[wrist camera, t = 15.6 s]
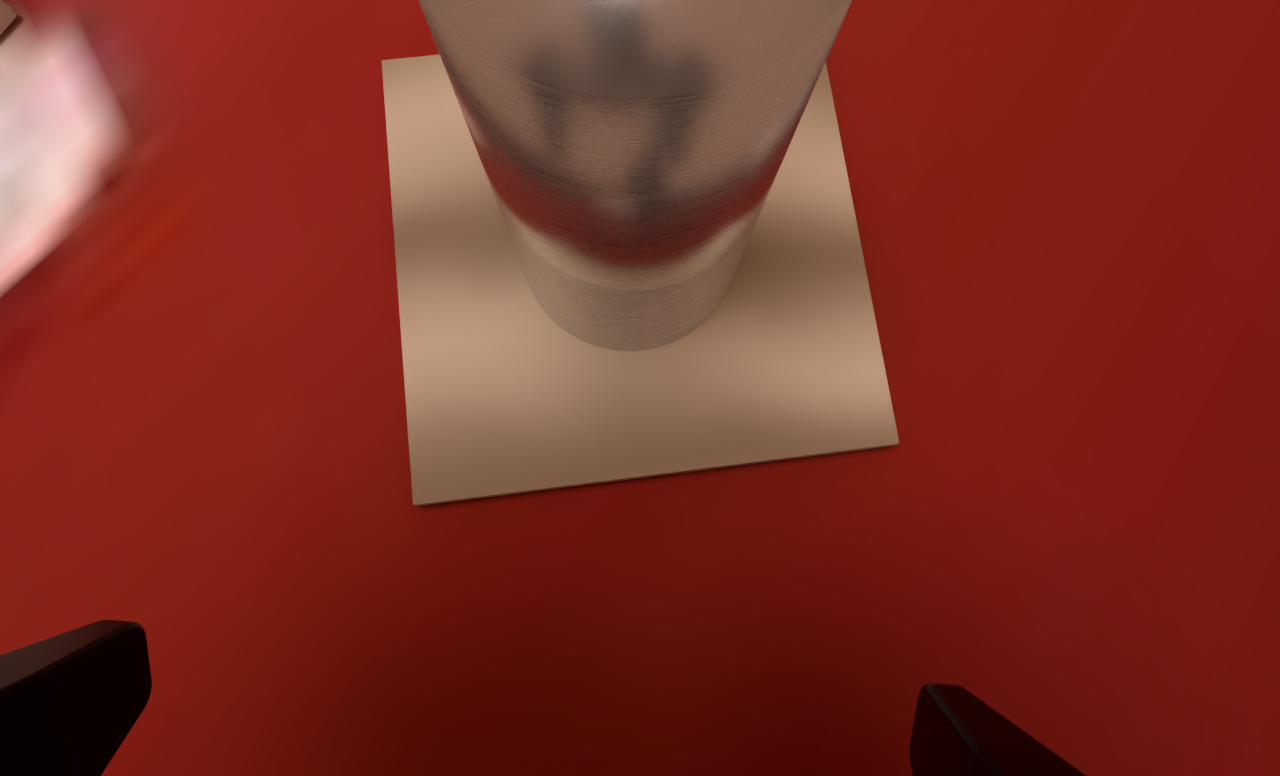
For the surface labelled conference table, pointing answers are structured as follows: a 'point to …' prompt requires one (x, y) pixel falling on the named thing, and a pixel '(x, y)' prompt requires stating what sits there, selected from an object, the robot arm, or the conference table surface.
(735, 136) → the steel flask
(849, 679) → the conference table surface
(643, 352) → the beige square tile
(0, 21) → the small box
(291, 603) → the conference table surface
